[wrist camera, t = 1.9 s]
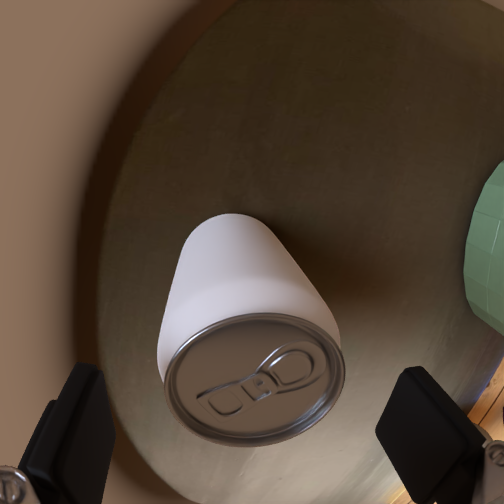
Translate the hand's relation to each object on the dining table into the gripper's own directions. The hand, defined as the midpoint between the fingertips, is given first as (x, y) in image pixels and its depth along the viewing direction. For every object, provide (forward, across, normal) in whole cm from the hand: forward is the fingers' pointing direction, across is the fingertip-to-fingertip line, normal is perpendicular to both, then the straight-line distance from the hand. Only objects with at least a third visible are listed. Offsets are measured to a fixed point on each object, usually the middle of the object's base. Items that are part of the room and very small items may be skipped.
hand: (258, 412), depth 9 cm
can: (+13, 0, -1) cm, 13 cm away
